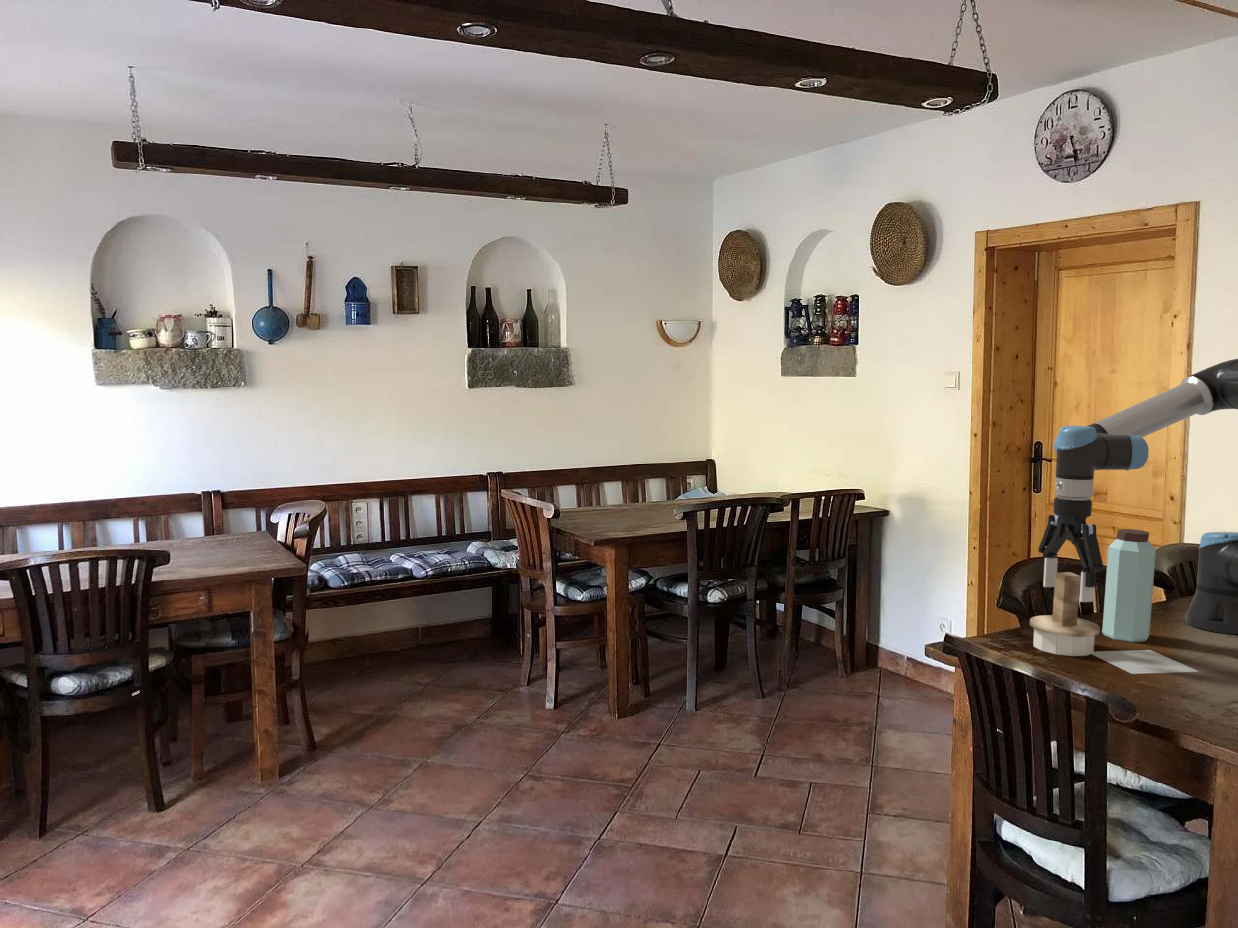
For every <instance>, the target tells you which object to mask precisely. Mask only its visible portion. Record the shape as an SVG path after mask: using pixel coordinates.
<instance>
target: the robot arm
mask: <svg viewBox="0 0 1238 928" xmlns="http://www.w3.org/2000/svg"><path fill="white" fill-rule="evenodd" d="M1220 410H1238V358H1233V359H1230V360H1226V361H1223V362H1219V363H1217V364H1214V365H1212V366H1209V367H1207V368H1205V369H1201V370H1200V371H1198V372H1196V373H1193V374H1191V375H1188V376H1186V377H1185V378H1183V379H1182V380H1181V381H1180V384H1179V385H1177V386H1174V387H1173V388H1170V389H1167V390H1166V391H1164V392H1162V393H1159V394H1157V395H1155V396H1152V397H1150V398H1147V399H1146V400H1144V401H1140V402H1139V403H1136V404H1133V405H1132V406H1130V407H1128V408H1125V409H1123V410H1121V411H1118V412H1116V413H1114V414H1111V415H1109V416H1108V417H1106V418H1103V419H1101V420H1099V421H1098V420H1097V421H1096V422H1094V423H1091V424H1088V425H1085V426H1084V425H1064V426H1062V427H1060V429H1059V431H1058V434H1057V436H1056V437H1055V439H1054V443H1053V448H1054V451H1055V454H1056V458H1055V459H1056V461H1055V482H1054V495H1055V496H1056V497H1055V498H1054V499H1053V514H1049V515H1048V518H1047V524H1046V527H1045V531H1044V533H1043V535H1042V538H1041V540H1040V544H1039V545H1038V546H1039V547H1038V553H1039V554H1042V557H1043V559H1044V560H1043V561H1044V562H1043V582H1042V583H1043V585H1042V587H1044V588H1054V587H1055V573H1058V561H1059V560H1058V557H1059V555H1058V553H1059V551H1060V550H1061V548H1062V547H1063V545H1064V544H1065V543H1066V541H1068V542H1070V543H1071V544H1072V545H1073V546H1074V548H1075V550H1076V552H1077V555H1078V557H1079V561H1080V563H1081V565H1082V569H1081V570H1080V589H1079V603H1080V602H1081V603H1091V602H1092V603H1093V602H1094V594H1095V593H1094V592H1095V586H1096V575H1097V572H1100V571H1103V572H1104V569H1105V568H1104V563H1103V559H1102V554H1101V549H1100V546H1099V541H1098V537H1097V525H1096V524H1095V523H1092V524H1090V523H1089V524H1087V518H1089V517H1091V516H1092V513H1093V512H1092V511H1093V510H1092V509H1093V501H1092V499H1091V498H1092V497H1093V496H1094V482H1095V481H1094V480H1095V478H1094V477H1095V471H1101V470H1102V471H1103V470H1104V471H1105V470H1107V471H1109V470H1110V471H1112V470H1113V471H1114V470H1116V471H1117V470H1118V471H1119V470H1121V471H1122V470H1123V471H1124V470H1125V471H1130V470H1139V469H1142V468H1143V467H1144V466H1145V464H1146V463H1147V461H1148V459H1149V452H1150V449H1149V444H1148V443H1147V441H1146V439H1144V438H1145V437H1147V436H1149V435H1151V434H1154V433H1156V432H1158V431H1160V430H1162V429H1166V428H1167V427H1169V426H1171V425H1174V424H1176V423H1178V422H1181V421H1183V420H1185V419H1187V418H1189V417H1191V416H1192V417H1193V416H1195V415H1198V416H1204V415H1207V414H1210V413H1211V412H1215V411H1220ZM1196 573H1197V574H1196V589H1195V593H1194V595H1193V597H1192V600H1191V603H1189V604H1190V605H1189V608H1188V609H1187V610H1186V612H1185V623H1186V624H1188V626H1191V627H1193V628H1197V629H1201V630H1205V631H1209V632H1210V631H1211V632H1214V633H1219V634H1220V633H1221V634H1230V635H1238V531H1237V532H1236V531H1234V532H1233V531H1229V532H1227V531H1212V532H1211V531H1210V532H1205V533H1203V534H1202V535H1201V538H1200V542H1199V547H1198V559H1197V572H1196Z"/></svg>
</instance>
